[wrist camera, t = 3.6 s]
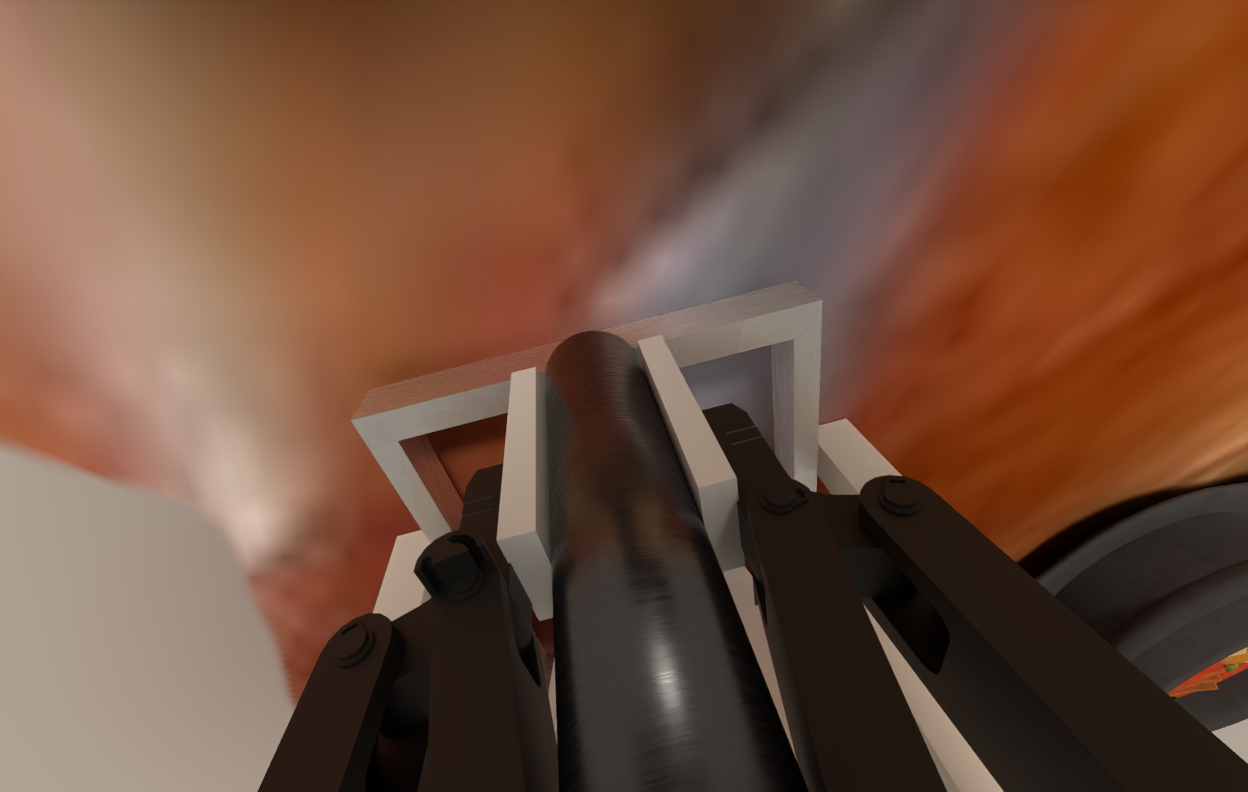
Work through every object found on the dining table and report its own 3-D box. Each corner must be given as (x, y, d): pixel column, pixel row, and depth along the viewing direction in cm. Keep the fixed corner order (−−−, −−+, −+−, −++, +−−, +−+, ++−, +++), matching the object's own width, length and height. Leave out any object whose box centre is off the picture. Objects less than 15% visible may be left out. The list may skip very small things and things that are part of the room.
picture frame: (355, 365, 17) (-210, 1196, 4) (795, 253, 17) (1536, 698, 4) (534, 667, 28) (533, 1130, 15) (795, 596, 28) (1002, 993, 16)
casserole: (956, 682, 41) (1044, 803, 34) (923, 573, 31) (1036, 711, 24) (1263, 554, 37) (1432, 660, 30) (1334, 386, 28) (1608, 484, 21)
